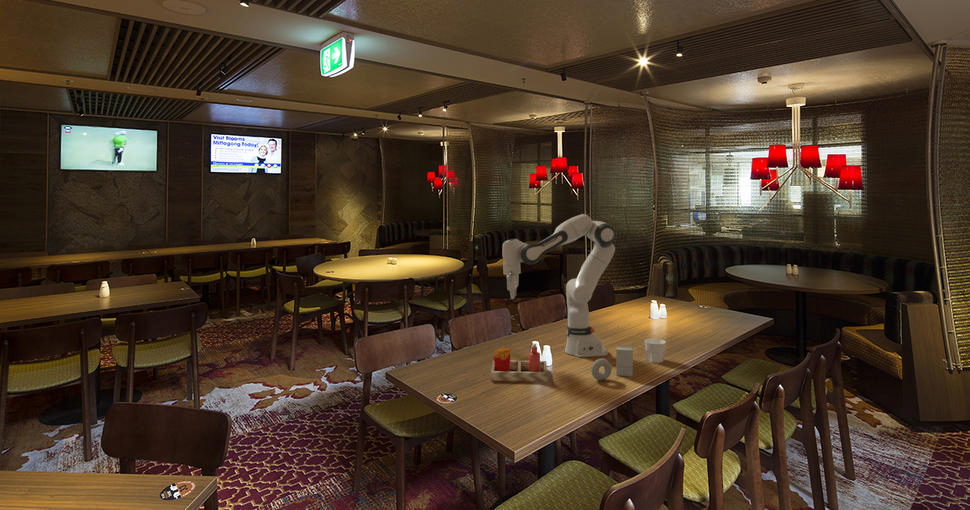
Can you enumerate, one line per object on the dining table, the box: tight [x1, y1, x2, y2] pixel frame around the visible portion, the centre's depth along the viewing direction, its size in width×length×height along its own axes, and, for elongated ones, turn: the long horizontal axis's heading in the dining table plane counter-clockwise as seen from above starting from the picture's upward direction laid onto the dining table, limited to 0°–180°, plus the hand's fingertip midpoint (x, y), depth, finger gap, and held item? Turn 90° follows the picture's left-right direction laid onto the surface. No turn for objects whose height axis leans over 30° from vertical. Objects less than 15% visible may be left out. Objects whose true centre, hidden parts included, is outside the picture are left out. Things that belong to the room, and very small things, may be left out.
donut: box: [590, 358, 612, 381], centre depth 213 cm, size 10×3×10 cm, turn 109°
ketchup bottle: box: [528, 343, 541, 372], centre depth 218 cm, size 5×5×15 cm
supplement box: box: [615, 344, 634, 378], centre depth 221 cm, size 7×7×13 cm
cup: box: [644, 337, 666, 364], centre depth 239 cm, size 10×10×10 cm
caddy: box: [490, 359, 549, 383], centre depth 221 cm, size 26×16×4 cm, turn 85°
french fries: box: [493, 347, 512, 371], centre depth 222 cm, size 8×4×12 cm, turn 115°
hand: (513, 297), depth 242 cm, fingers open, 8 cm apart
